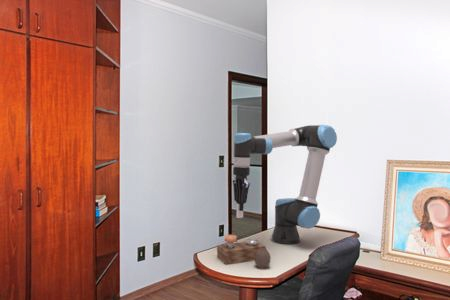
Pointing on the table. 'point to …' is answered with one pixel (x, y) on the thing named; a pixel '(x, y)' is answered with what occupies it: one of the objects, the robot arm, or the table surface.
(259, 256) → the vase
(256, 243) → the grey plunger
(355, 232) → the table surface
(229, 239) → the terracotta plunger
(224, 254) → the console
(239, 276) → the table surface
